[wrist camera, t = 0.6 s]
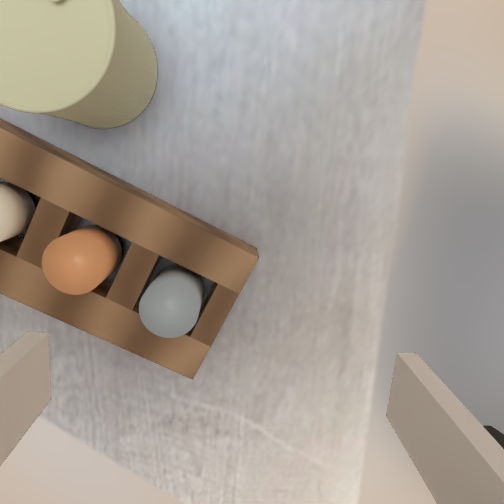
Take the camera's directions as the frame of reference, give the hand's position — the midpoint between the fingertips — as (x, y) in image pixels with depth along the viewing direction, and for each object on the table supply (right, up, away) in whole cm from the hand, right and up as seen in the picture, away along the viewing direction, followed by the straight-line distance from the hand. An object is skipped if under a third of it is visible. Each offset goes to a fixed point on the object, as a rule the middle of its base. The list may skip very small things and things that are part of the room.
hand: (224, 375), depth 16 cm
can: (-11, +19, +17) cm, 28 cm away
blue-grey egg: (-5, +1, +19) cm, 20 cm away
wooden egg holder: (-12, +5, +20) cm, 24 cm away
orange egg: (-12, +5, +18) cm, 22 cm away
